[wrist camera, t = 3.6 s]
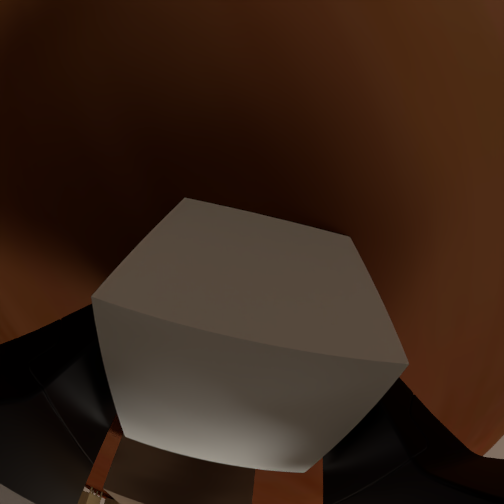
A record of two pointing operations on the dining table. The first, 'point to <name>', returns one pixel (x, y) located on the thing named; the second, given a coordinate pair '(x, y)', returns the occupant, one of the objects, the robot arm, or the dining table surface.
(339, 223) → the dining table surface
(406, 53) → the dining table surface
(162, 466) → the walnut block
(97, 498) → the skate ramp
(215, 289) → the cream block
